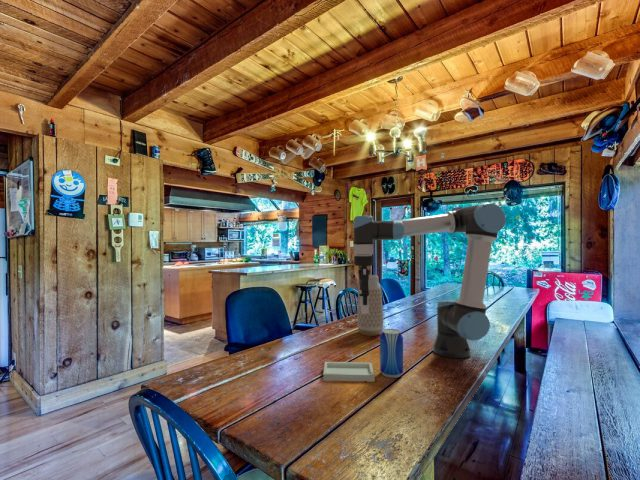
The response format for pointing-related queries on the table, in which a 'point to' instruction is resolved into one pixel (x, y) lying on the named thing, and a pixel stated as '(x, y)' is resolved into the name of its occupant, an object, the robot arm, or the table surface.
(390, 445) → the table surface
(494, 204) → the robot arm
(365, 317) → the vase
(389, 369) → the beer can
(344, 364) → the tray
